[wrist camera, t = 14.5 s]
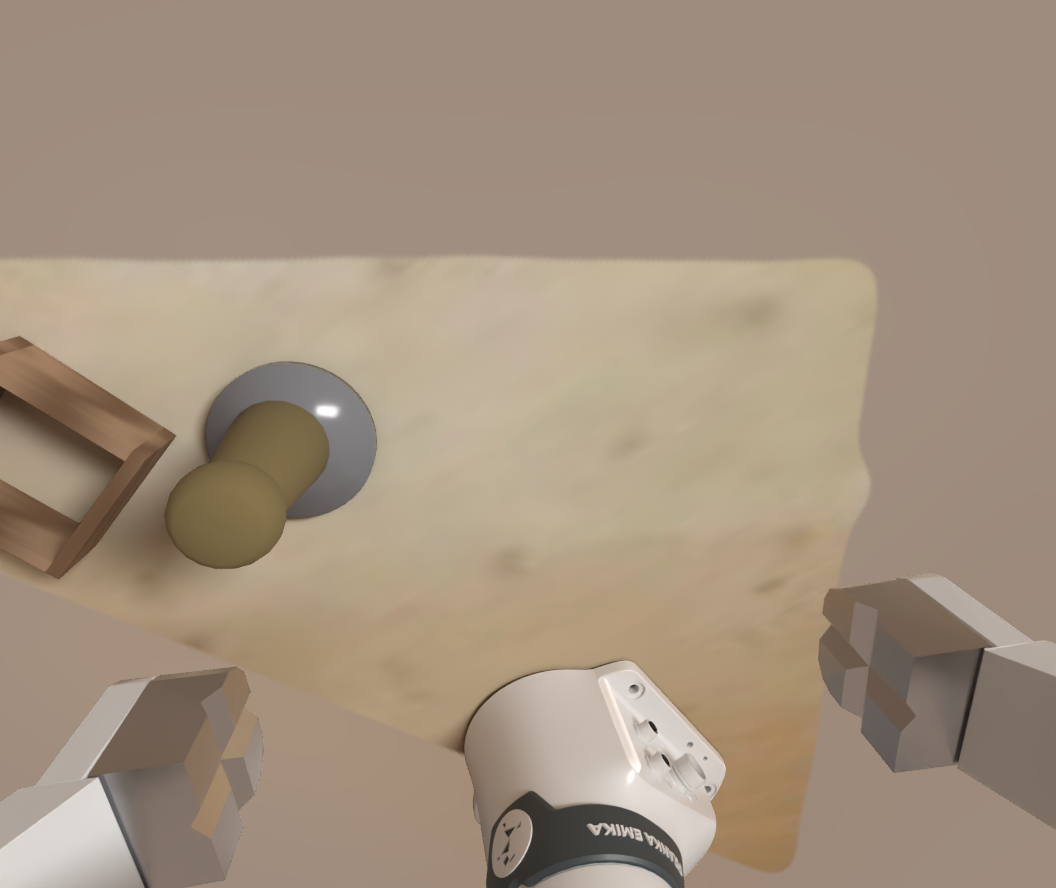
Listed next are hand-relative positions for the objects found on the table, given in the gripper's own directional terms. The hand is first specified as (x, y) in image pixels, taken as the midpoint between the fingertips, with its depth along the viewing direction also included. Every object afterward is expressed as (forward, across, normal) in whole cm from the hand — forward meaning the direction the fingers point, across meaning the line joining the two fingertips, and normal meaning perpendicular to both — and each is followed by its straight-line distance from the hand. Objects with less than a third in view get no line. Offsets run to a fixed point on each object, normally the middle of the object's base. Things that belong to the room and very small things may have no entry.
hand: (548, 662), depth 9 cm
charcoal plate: (+31, +12, +6) cm, 34 cm away
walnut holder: (+31, +26, +5) cm, 41 cm away
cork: (+30, +13, +6) cm, 33 cm away
